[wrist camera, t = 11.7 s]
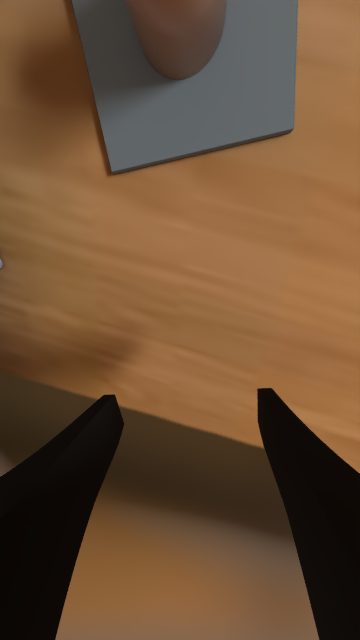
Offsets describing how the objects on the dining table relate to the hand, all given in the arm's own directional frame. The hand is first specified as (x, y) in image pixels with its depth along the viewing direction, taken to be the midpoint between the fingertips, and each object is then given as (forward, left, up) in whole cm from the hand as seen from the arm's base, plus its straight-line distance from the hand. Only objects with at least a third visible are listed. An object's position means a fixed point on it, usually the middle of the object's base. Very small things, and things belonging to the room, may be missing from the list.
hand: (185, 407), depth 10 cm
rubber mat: (+2, +19, -9) cm, 21 cm away
